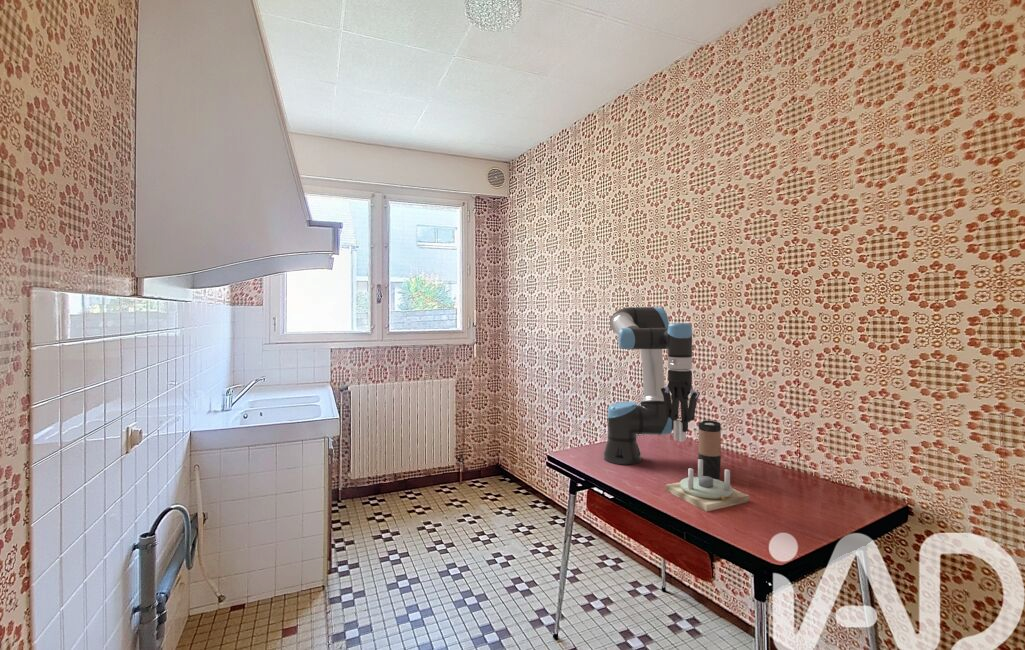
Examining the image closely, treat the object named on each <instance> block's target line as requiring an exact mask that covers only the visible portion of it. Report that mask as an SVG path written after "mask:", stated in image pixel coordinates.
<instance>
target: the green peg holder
mask: <svg viewBox="0 0 1025 650" xmlns="http://www.w3.org/2000/svg"><path fill="white" fill-rule="evenodd" d="M687 470H688V471H687V472H688V473H687V474H688V475H687V476H688V477H685V478H683V479H681V480H680V481H679V482H680V487H681V489H682V490H683V491H685V492H686V493H688V494H691V495H694V496H697V497H702V498H709V499H721V496H726V498H728V497H730V496H731V495H732V494H733V489H734V488H733V487H732V485H731V470H730V469H727V468H726V469H724V478H723V479H724V481H722V480H720V479H713V478H711V477H708V476H703V460H702V459H699V458H698V459H697V476H694V471H695V470H694V468H691V467H690V468H688V469H687Z"/></svg>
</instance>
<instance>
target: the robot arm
mask: <svg viewBox="0 0 1025 650" xmlns="http://www.w3.org/2000/svg"><path fill="white" fill-rule="evenodd" d="M669 322H670V321H669V318H668V314H667V311H666V310H665V308H663V307H660V306H659V307H658V306H657V307H656V306H645V307H644V306H641V307H640V306H639V307H637V306H635V307H633V306H632V307H631V306H630V307H624V308H621V309H619V310H617V311H615V312H614V313H613V314H612V316H611V317H610V320H609V327H610V329H611V331H613V332H614V334H617V344H618V347H619V348H620V349H621V350H628V351H629V350H630V351H631V350H641V366H642V384H643V385H642V386H643V398H642V399H641V400H640V405H638V404H637V403H636V402H635V401H619V402H614V403H612V404H610V405H609V406H608V408H607V417H606V418H607V441H606V444H605V447H604V450H603V460H605V461H606V462H609V463H611V464H615V465H616V464H617V465H634V464H638V463H641V461H642V453H641V451H640V448H639V445H638V441H637V435H650V436H653V435H656V436H662V435H670V434H671V433H672V432H673V441H675V442H677V441H679V442H680V443H683V442H686V441H687V432H688V431H689V422H692V421H694V420H695V415H696V409H697V404H698V403H697V402H698V399H699V397H700V394H701V392H700V391H696V390H695V389H694V387H693V385H692V382H693V371H692V369H693V335H694V334H693V327H692V324H691V323H690V322H671V323H669ZM663 350H667V369H668V370H667V380H668V382H667V386H665V372H664V360H663V359H664V357H663V356H664V355H663ZM689 396H690V397H689ZM679 411H680V414H681V415H680V416H681V417H679Z"/></svg>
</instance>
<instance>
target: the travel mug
mask: <svg viewBox="0 0 1025 650" xmlns="http://www.w3.org/2000/svg"><path fill="white" fill-rule="evenodd" d="M721 426H722V425H721V422H719V421H716V420H702V422H700V421H699V422H698V451H697V452H698V459H702V460H703V476H708V477H711V478H713V479H717V480H720V478H721V463H722V462H721V459H722V456H721V455H722V444H721V443H722V430H721V429H722V428H721Z"/></svg>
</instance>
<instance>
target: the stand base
mask: <svg viewBox="0 0 1025 650" xmlns="http://www.w3.org/2000/svg"><path fill="white" fill-rule="evenodd" d="M680 482H681V481H679V482H678V481H677V482H673V483H667V484H665V491H666V492H667V493H669V494H672V495H673V496H675V497H677V498H679V499H681V500H683V501H685V502H687V503H688V504H691V505H693V506H695V507H697V508H699V509H700V510H703V511H704V512H706V513H707V512H710V511H714V510H720V509H723V508H728V507H732V506H736V505H741V504H745V503H749V502H750V494H746V493H744V492H742V491H739V490H737V489H735V488H733V494H732V495H731V496H730V497H728V498H726V496H721V499H709V498H702V497H697V496H694V495H691V494H688V493H686V492H685V491H683V490H682V489H681V487H680Z"/></svg>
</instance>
